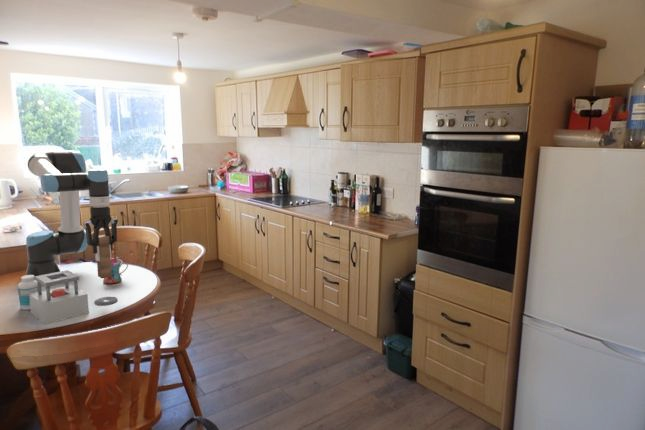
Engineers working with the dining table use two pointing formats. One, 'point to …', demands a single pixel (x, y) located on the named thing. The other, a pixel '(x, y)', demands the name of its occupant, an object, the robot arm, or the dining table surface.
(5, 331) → the dining table surface
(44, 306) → the box
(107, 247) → the brown wooden block
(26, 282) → the pill bottle
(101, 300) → the pad
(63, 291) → the breaker button
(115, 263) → the mug
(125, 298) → the dining table surface
